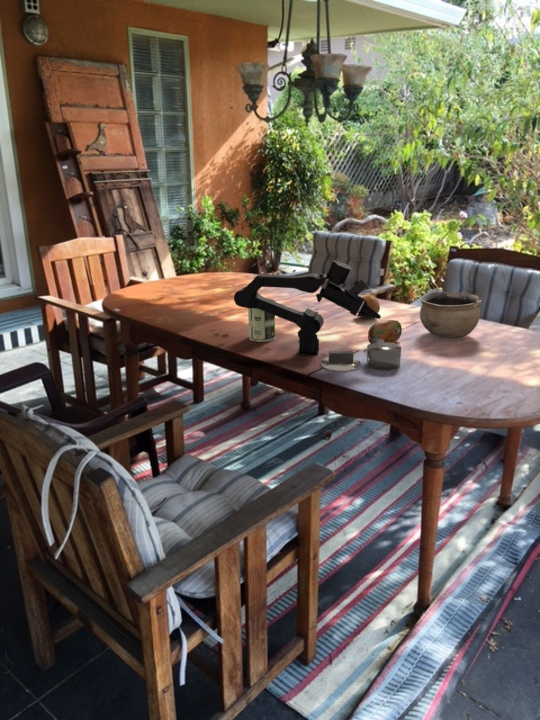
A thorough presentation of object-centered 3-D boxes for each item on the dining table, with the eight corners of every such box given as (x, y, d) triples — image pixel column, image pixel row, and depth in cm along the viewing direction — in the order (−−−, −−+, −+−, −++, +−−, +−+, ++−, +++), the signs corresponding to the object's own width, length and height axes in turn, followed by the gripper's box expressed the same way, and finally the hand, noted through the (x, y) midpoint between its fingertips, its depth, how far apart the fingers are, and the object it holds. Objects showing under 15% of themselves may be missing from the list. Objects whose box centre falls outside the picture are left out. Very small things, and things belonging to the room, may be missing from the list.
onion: (356, 314, 259) (357, 291, 256) (379, 315, 257) (380, 292, 254) (354, 320, 250) (355, 296, 247) (378, 321, 248) (380, 297, 245)
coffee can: (273, 333, 234) (272, 297, 230) (277, 341, 225) (277, 304, 220) (246, 334, 233) (245, 299, 228) (250, 342, 223) (249, 305, 219)
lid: (321, 372, 194) (322, 358, 193) (320, 359, 206) (320, 345, 205) (362, 372, 194) (363, 358, 192) (358, 359, 206) (358, 345, 204)
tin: (372, 348, 215) (373, 326, 213) (365, 346, 218) (366, 324, 215) (401, 341, 223) (403, 319, 221) (395, 339, 226) (396, 317, 223)
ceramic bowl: (476, 347, 215) (480, 306, 210) (413, 342, 222) (416, 302, 217) (478, 330, 234) (482, 293, 229) (421, 326, 242) (424, 289, 237)
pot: (368, 370, 195) (369, 352, 193) (362, 354, 210) (363, 337, 208) (402, 370, 194) (404, 352, 192) (394, 354, 209) (395, 337, 207)
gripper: (348, 273, 192) (392, 295, 191) (350, 275, 210) (390, 295, 209) (332, 304, 194) (376, 326, 192) (335, 303, 212) (375, 324, 211)
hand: (380, 317), depth 201 cm, fingers open, 9 cm apart
